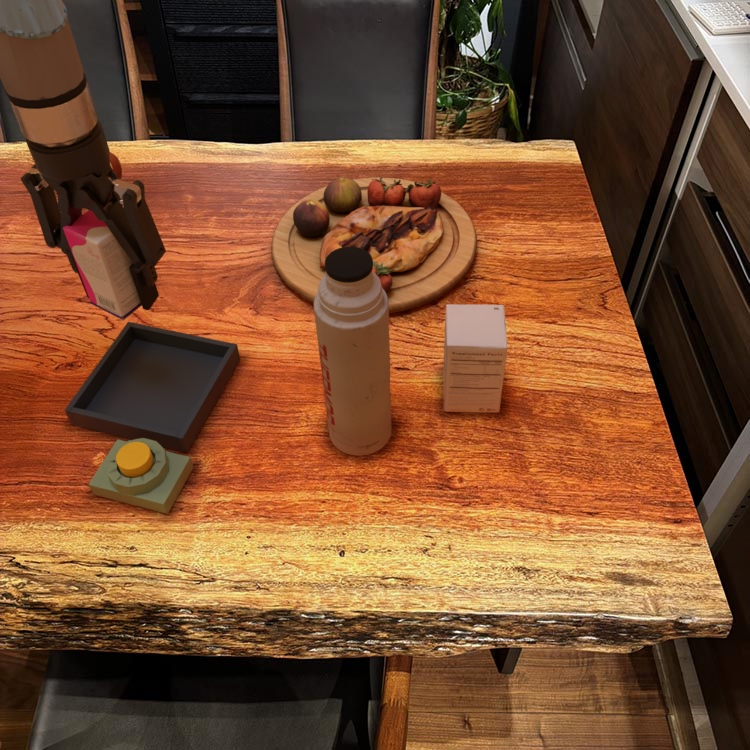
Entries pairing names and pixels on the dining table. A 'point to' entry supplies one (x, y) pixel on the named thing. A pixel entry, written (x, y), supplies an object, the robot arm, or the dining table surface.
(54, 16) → the robot arm
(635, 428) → the dining table surface
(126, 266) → the supplement box
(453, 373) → the white packaging box
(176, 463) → the control block
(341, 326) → the thermos bottle
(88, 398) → the tray
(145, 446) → the button
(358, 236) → the wooden plate
